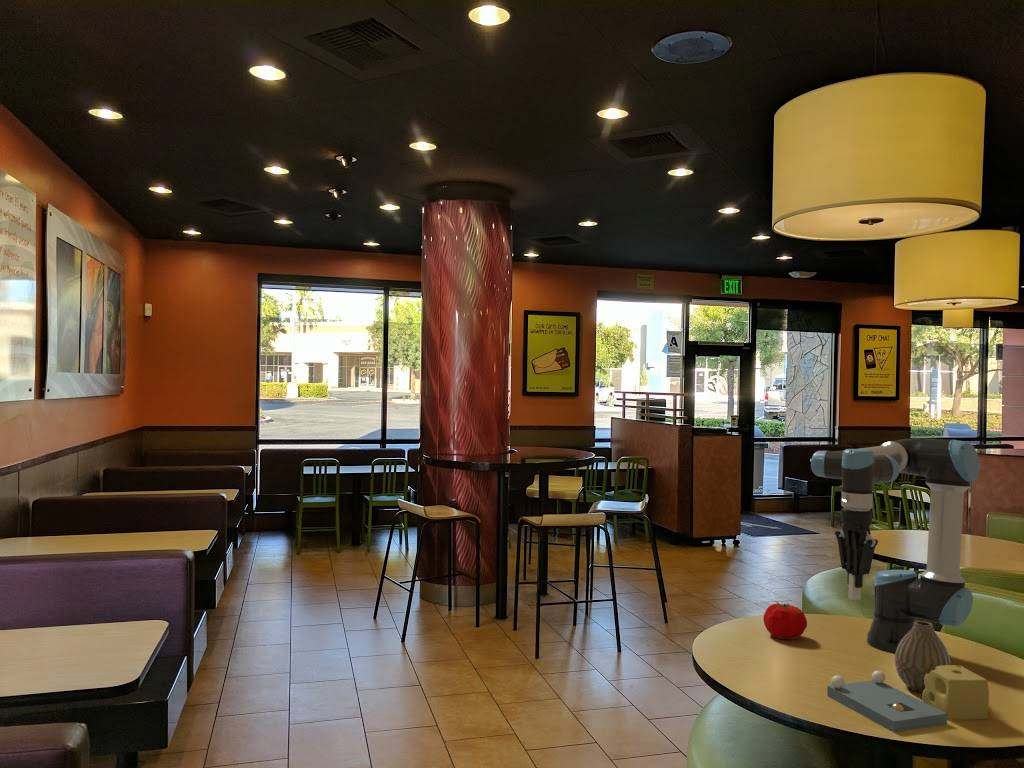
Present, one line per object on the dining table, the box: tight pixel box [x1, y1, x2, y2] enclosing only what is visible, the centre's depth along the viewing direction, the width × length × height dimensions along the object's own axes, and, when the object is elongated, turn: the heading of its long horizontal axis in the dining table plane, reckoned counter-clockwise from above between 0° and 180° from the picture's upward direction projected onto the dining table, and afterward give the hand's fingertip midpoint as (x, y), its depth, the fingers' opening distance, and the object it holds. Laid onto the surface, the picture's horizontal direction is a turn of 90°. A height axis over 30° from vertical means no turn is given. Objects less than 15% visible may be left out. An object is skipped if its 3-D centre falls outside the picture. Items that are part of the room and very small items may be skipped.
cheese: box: [921, 664, 990, 721], centre depth 194 cm, size 10×11×10 cm
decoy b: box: [830, 674, 846, 689], centre depth 202 cm, size 3×3×3 cm
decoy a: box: [871, 670, 886, 684], centre depth 206 cm, size 3×3×3 cm
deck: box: [826, 679, 948, 733], centre depth 195 cm, size 16×22×2 cm
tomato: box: [762, 600, 808, 640], centre depth 250 cm, size 13×12×11 cm
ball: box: [891, 703, 905, 712], centre depth 191 cm, size 3×3×3 cm
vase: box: [894, 620, 952, 694], centre depth 209 cm, size 13×13×18 cm
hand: (854, 598), depth 205 cm, fingers closed
